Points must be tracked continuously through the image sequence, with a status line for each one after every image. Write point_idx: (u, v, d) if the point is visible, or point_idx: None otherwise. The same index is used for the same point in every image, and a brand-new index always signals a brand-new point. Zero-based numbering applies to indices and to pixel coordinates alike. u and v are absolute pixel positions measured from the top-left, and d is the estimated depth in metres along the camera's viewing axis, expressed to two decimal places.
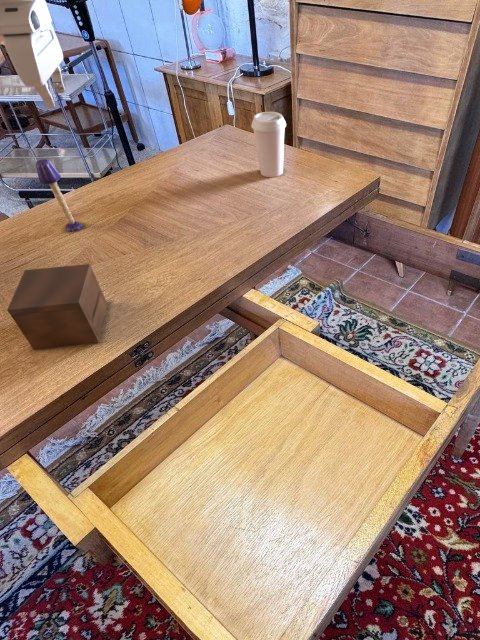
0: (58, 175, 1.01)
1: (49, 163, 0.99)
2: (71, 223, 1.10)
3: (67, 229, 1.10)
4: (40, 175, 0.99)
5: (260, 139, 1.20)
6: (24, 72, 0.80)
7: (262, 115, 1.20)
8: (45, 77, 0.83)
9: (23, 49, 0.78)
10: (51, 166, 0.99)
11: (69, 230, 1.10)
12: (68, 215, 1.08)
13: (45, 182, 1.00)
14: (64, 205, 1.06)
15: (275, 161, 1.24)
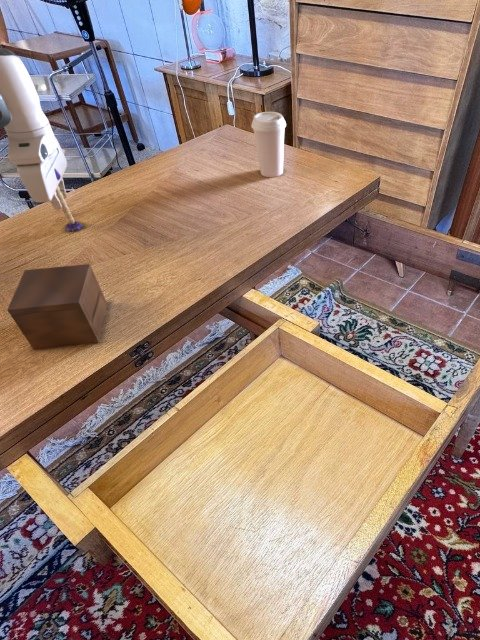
0: (58, 175, 1.01)
1: None
2: (71, 223, 1.10)
3: (67, 229, 1.10)
4: None
5: (260, 139, 1.20)
6: (34, 193, 0.94)
7: (262, 115, 1.20)
8: (52, 193, 0.97)
9: (33, 176, 0.92)
10: None
11: (69, 230, 1.10)
12: (68, 215, 1.08)
13: None
14: (64, 205, 1.06)
15: (275, 161, 1.24)
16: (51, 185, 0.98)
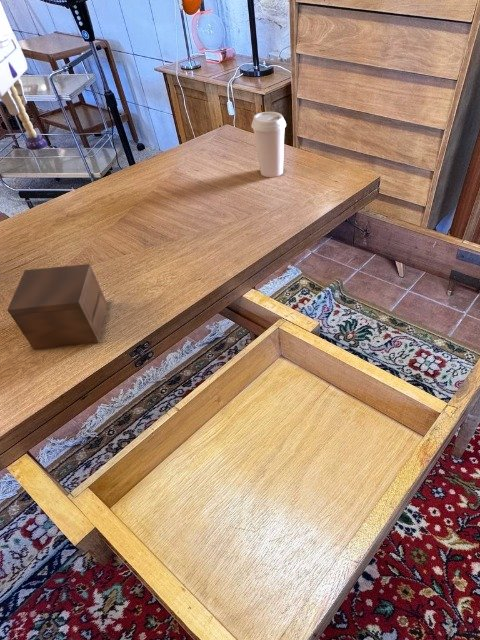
0: (14, 71, 0.86)
1: None
2: (32, 136, 0.95)
3: (27, 144, 0.95)
4: None
5: (260, 139, 1.20)
6: None
7: (262, 115, 1.20)
8: (4, 88, 0.82)
9: None
10: None
11: (30, 145, 0.95)
12: (28, 126, 0.93)
13: None
14: (23, 112, 0.91)
15: (275, 161, 1.24)
16: (3, 79, 0.82)
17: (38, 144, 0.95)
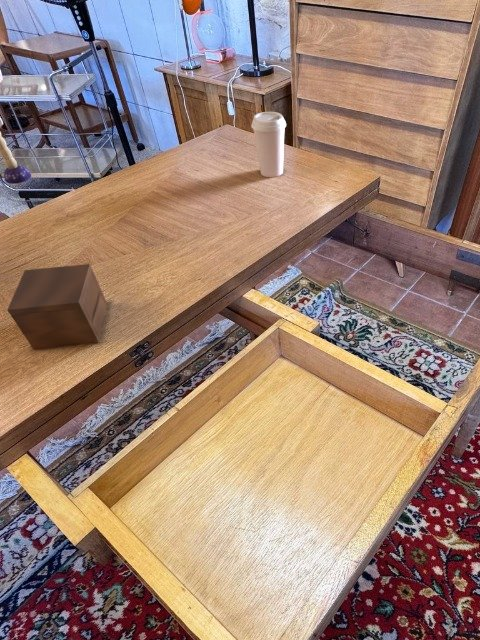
0: None
1: None
2: (11, 167, 0.74)
3: (6, 176, 0.74)
4: None
5: (260, 139, 1.20)
6: None
7: (262, 115, 1.20)
8: None
9: None
10: None
11: (9, 177, 0.74)
12: (5, 153, 0.72)
13: None
14: None
15: (275, 161, 1.24)
16: None
17: (19, 176, 0.74)
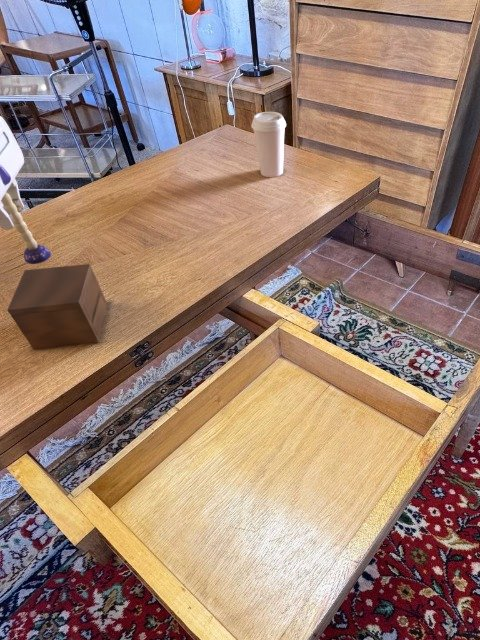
0: (6, 176, 0.65)
1: None
2: (32, 248, 0.74)
3: (26, 257, 0.74)
4: None
5: (260, 139, 1.20)
6: None
7: (262, 115, 1.20)
8: None
9: None
10: None
11: (29, 258, 0.74)
12: (26, 236, 0.72)
13: None
14: (19, 222, 0.70)
15: (275, 161, 1.24)
16: None
17: (39, 257, 0.74)
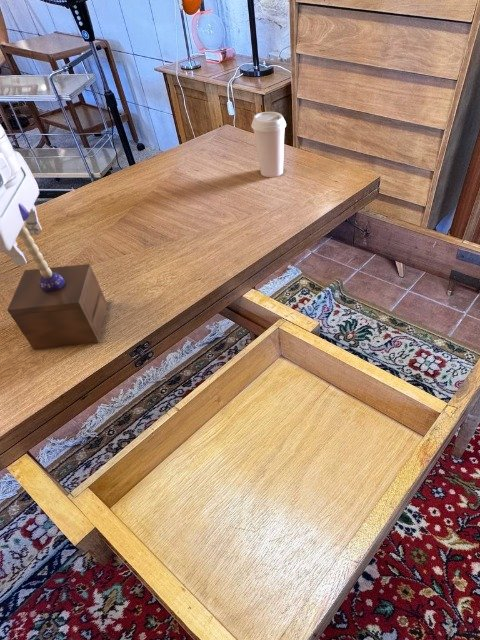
0: (25, 213, 0.69)
1: None
2: (47, 276, 0.78)
3: (41, 285, 0.78)
4: None
5: (260, 139, 1.20)
6: None
7: (262, 115, 1.20)
8: (12, 239, 0.65)
9: None
10: None
11: (44, 286, 0.78)
12: (42, 266, 0.76)
13: None
14: (36, 253, 0.74)
15: (275, 161, 1.24)
16: (11, 227, 0.65)
17: (54, 285, 0.78)
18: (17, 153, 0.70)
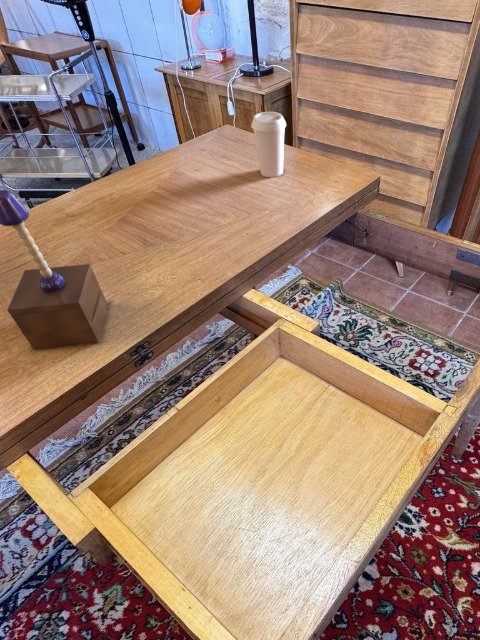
0: (25, 213, 0.69)
1: (11, 196, 0.67)
2: (47, 276, 0.78)
3: (41, 285, 0.78)
4: None
5: (260, 139, 1.20)
6: None
7: (262, 115, 1.20)
8: None
9: None
10: (14, 201, 0.68)
11: (44, 286, 0.78)
12: (42, 266, 0.76)
13: (5, 224, 0.68)
14: (36, 253, 0.74)
15: (275, 161, 1.24)
16: None
17: (54, 285, 0.78)
18: None
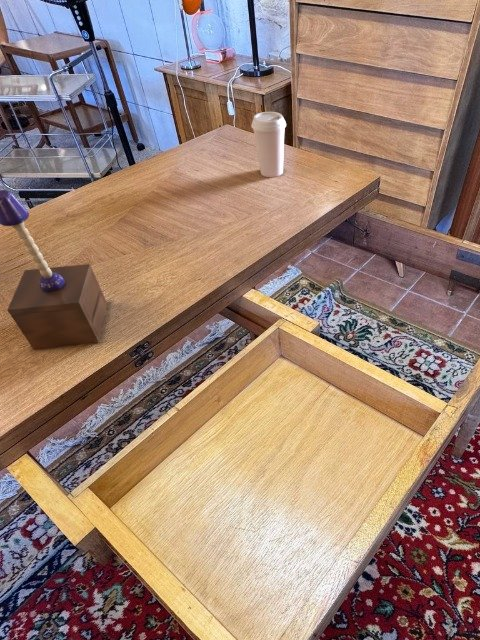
0: (25, 213, 0.69)
1: (11, 196, 0.67)
2: (47, 276, 0.78)
3: (41, 285, 0.78)
4: None
5: (260, 139, 1.20)
6: None
7: (262, 115, 1.20)
8: None
9: None
10: (14, 201, 0.68)
11: (44, 286, 0.78)
12: (42, 266, 0.76)
13: (5, 224, 0.68)
14: (36, 253, 0.74)
15: (275, 161, 1.24)
16: None
17: (54, 285, 0.78)
18: None
